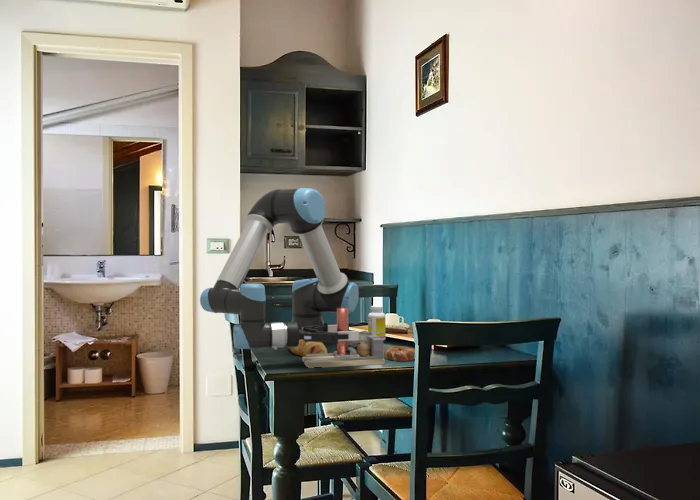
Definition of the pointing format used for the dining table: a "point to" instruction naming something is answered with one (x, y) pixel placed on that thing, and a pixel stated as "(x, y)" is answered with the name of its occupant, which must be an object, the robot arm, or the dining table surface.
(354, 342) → the rock
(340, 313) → the handle
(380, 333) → the supplement bottle
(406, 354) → the pretzel
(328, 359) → the base
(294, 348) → the croissant
